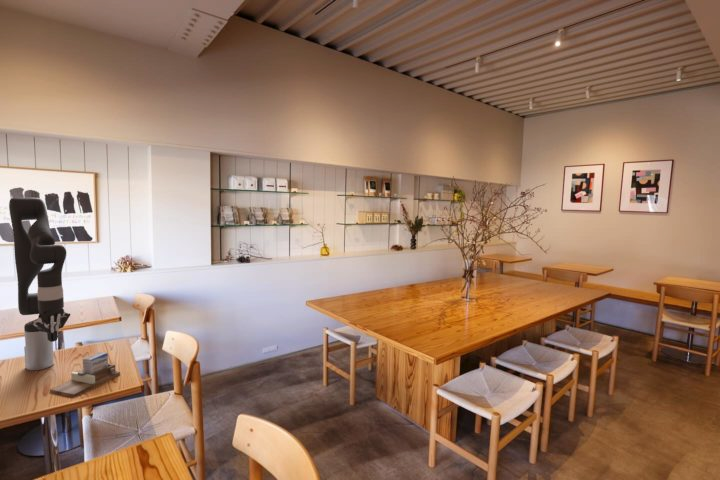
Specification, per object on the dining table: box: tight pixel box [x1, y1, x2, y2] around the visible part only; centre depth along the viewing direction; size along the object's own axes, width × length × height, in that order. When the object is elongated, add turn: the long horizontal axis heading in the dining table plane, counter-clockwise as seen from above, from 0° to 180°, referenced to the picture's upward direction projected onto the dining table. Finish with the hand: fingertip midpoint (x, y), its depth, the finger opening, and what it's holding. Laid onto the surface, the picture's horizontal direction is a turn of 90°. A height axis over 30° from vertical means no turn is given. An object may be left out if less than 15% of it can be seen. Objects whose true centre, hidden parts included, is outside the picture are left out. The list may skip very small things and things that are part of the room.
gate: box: [70, 370, 95, 384], centre depth 151 cm, size 11×2×4 cm, turn 75°
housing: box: [49, 363, 121, 398], centre depth 153 cm, size 12×20×4 cm, turn 165°
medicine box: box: [82, 351, 109, 375], centre depth 157 cm, size 8×4×9 cm, turn 166°
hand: (53, 340), depth 144 cm, fingers closed
